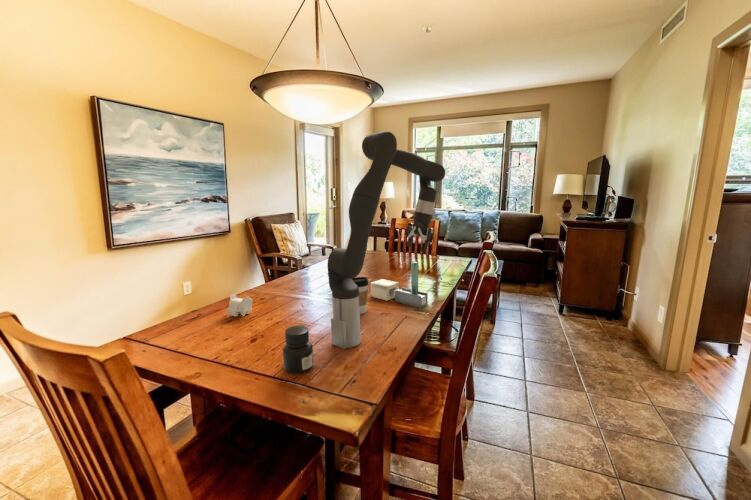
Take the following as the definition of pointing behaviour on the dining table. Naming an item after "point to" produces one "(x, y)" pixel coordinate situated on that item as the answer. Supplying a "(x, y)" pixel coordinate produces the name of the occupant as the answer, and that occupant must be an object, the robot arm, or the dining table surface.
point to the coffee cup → (362, 292)
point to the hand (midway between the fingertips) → (415, 249)
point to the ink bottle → (297, 350)
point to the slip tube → (414, 282)
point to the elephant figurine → (239, 305)
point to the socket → (384, 289)
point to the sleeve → (410, 298)
